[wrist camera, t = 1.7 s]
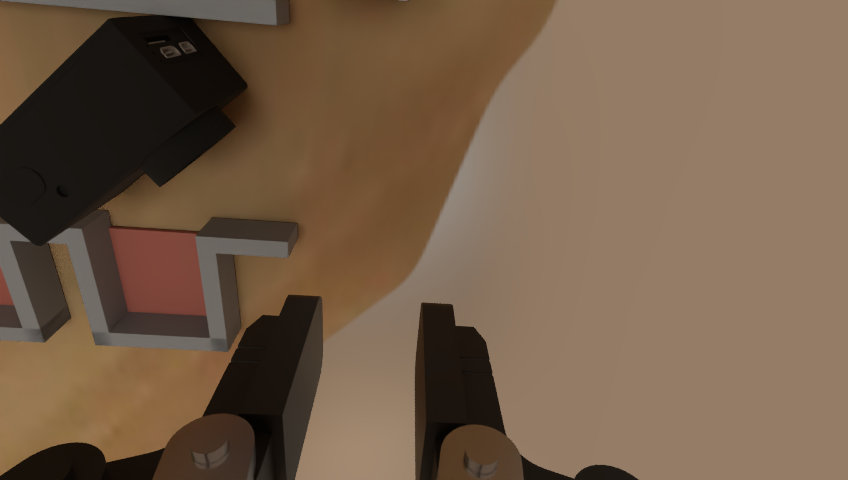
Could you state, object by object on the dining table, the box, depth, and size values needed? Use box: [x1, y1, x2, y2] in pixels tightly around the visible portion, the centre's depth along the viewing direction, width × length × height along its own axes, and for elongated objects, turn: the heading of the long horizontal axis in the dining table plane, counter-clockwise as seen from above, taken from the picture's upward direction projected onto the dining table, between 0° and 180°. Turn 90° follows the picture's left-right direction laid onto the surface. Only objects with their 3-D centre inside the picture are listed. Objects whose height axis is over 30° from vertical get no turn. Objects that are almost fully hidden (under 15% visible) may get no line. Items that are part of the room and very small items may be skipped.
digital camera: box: [0, 15, 247, 246], centre depth 23 cm, size 10×5×7 cm, turn 125°
